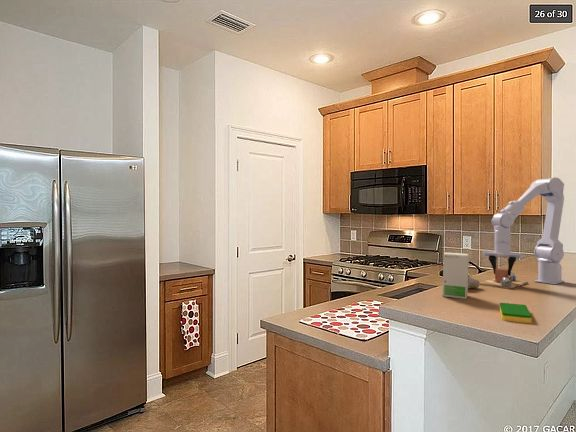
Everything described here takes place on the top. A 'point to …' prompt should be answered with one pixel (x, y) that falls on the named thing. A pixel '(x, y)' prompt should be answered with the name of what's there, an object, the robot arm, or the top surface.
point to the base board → (497, 284)
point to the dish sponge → (515, 312)
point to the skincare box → (455, 275)
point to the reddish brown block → (501, 273)
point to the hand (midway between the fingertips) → (502, 274)
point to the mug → (473, 282)
